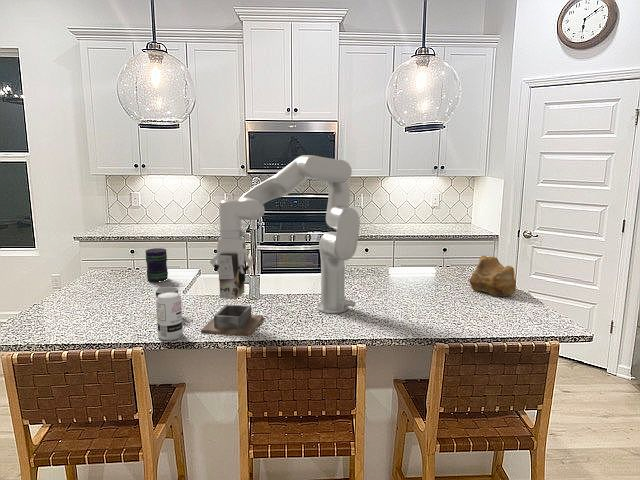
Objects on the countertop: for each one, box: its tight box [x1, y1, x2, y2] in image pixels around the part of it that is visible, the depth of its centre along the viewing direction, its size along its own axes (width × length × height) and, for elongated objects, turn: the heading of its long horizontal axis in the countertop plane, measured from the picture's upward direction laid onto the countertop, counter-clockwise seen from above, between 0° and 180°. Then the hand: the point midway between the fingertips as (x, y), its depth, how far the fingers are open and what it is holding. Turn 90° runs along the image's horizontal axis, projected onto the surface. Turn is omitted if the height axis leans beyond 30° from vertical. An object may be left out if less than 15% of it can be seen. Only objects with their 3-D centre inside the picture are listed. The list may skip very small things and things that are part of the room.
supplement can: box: [155, 292, 184, 341], centre depth 168 cm, size 8×8×15 cm
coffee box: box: [218, 254, 245, 300], centre depth 177 cm, size 9×6×16 cm
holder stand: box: [200, 304, 264, 336], centre depth 180 cm, size 18×18×6 cm
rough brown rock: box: [468, 255, 517, 298], centre depth 223 cm, size 23×17×15 cm
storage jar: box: [145, 247, 169, 283], centre depth 239 cm, size 10×10×15 cm
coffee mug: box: [154, 286, 180, 298], centre depth 189 cm, size 12×9×10 cm
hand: (232, 282), depth 177 cm, fingers closed on coffee box, 6 cm apart
